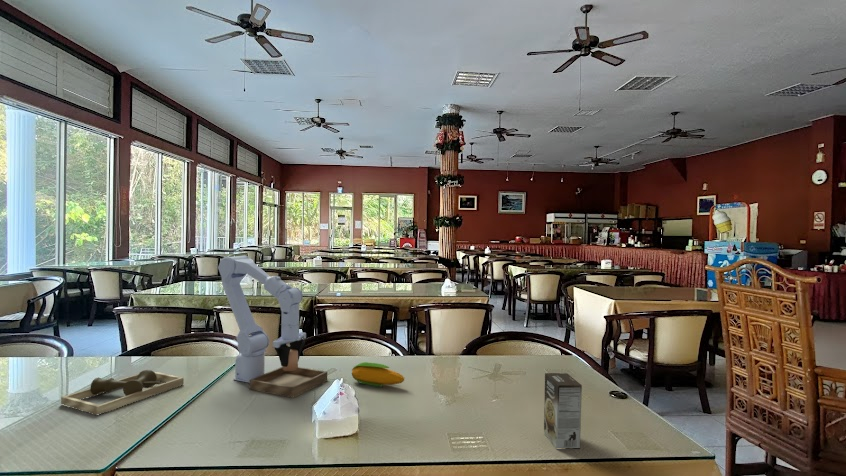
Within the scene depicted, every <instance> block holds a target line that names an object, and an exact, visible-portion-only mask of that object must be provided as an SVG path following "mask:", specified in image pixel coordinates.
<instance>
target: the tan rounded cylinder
mask: <svg viewBox="0 0 846 476" xmlns="http://www.w3.org/2000/svg"><path fill="white" fill-rule="evenodd" d="M298 367H299V361H298V350H296V349H290V352H289V358H288V366H287V367H284V366H283V370H284V371H294V370H297V369H298Z"/></svg>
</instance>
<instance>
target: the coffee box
mask: <svg viewBox="0 0 846 476" xmlns="http://www.w3.org/2000/svg"><path fill="white" fill-rule="evenodd" d="M582 388H583V385H582V384H581V383H580V382H578V380H576V379H575V378H574V377H572V376H571V375H570V374H569V373H564V372H563V373H559V372H546V373H544V407H543V408H544V411H543V412H544V415H543V433H544V435H545V436H546V437H548V438H547V439H548V440H549V441H551V442H552V443H553V444H552V443H551V442H550V443H551V444H552V445H553V447H554V446H555V447H556V448H580V449H581V424H582V423H581V421H582V399H583V398H582V396H583V392H582V390H583V389H582ZM555 447H554V448H555ZM556 448H555V449H556Z"/></svg>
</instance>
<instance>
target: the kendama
mask: <svg viewBox="0 0 846 476" xmlns="http://www.w3.org/2000/svg"><path fill="white" fill-rule="evenodd" d="M155 372H156V371H154V372H153V370H151V369H144V370H141V371H140V372H139V373H138V374H139V375H138V378H137V380H130V381H128V382H124V381H116V379H114V378H112V377H109V378H108V379H104V378H103V379H102V377H96V378H94V379H93V380H92V381H91V384H90V387H89V388H90V389H91V392H92V394H94V395H96V394H98V393H99V392H104V391H106V393H108V394H109V393H111V392H113V391H115V390H120V389H122V391H123V394H124V395H125V396H127V395H130V394H133V393H136V392H140V391H142V390H144V389H148V388H151V387H154V386H156V385H160V384H162V382H160V381H157V376H156V374H155ZM96 396H97V395H96Z"/></svg>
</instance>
